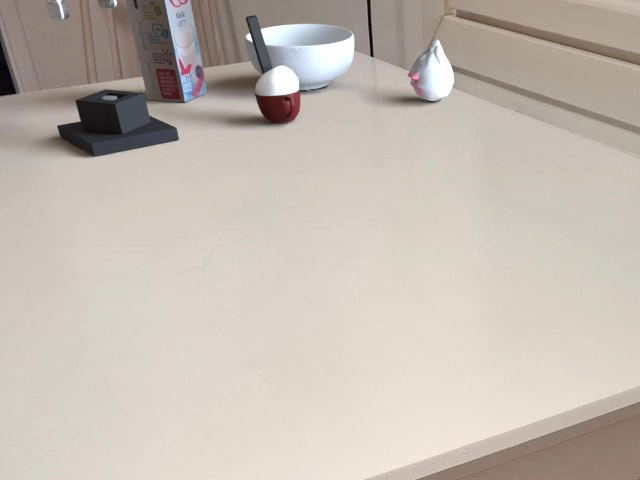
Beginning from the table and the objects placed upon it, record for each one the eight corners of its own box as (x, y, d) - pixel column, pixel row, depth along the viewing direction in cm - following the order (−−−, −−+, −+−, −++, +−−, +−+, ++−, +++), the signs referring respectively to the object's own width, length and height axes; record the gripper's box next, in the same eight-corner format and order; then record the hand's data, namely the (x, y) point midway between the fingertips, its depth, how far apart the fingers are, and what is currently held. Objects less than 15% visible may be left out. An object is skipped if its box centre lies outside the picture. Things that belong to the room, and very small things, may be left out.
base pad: (94, 156, 118) (83, 113, 115) (60, 137, 125) (48, 96, 121) (179, 139, 124) (170, 98, 120) (142, 122, 130) (132, 82, 127)
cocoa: (305, 126, 128) (292, 25, 120) (260, 129, 127) (244, 28, 119) (300, 110, 135) (288, 13, 127) (258, 112, 134) (243, 15, 126)
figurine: (402, 99, 139) (398, 37, 134) (443, 94, 142) (441, 33, 136) (419, 108, 135) (416, 45, 130) (461, 103, 137) (460, 41, 132)
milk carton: (207, 92, 143) (174, -85, 128) (185, 102, 139) (148, -80, 124) (171, 90, 145) (134, -86, 130) (147, 99, 140) (106, -81, 125)
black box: (122, 134, 120) (114, 103, 118) (83, 130, 122) (74, 100, 119) (151, 122, 125) (144, 92, 122) (112, 118, 126) (105, 89, 124)
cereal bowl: (235, 95, 142) (226, 41, 137) (276, 71, 154) (269, 22, 149) (337, 100, 139) (332, 46, 134) (371, 76, 151) (367, 25, 146)
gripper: (85, -135, 113) (115, -1, 122) (-35, -127, 99) (9, 24, 108) (127, -134, 111) (155, 2, 121) (11, -125, 97) (52, 28, 107)
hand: (85, 13), depth 114 cm, fingers open, 8 cm apart
